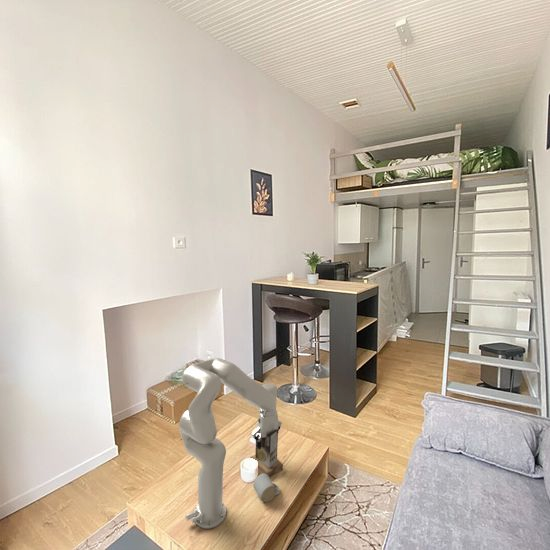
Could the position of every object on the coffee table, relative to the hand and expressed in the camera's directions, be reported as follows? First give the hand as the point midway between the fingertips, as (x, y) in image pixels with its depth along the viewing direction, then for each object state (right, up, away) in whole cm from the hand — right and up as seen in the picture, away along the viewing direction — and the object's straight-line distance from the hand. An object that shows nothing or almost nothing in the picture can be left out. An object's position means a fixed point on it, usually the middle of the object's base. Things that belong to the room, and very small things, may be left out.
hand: (266, 444), depth 148 cm
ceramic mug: (+1, -14, -15) cm, 20 cm away
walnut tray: (0, -12, +2) cm, 12 cm away
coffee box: (0, -9, +1) cm, 9 cm away
